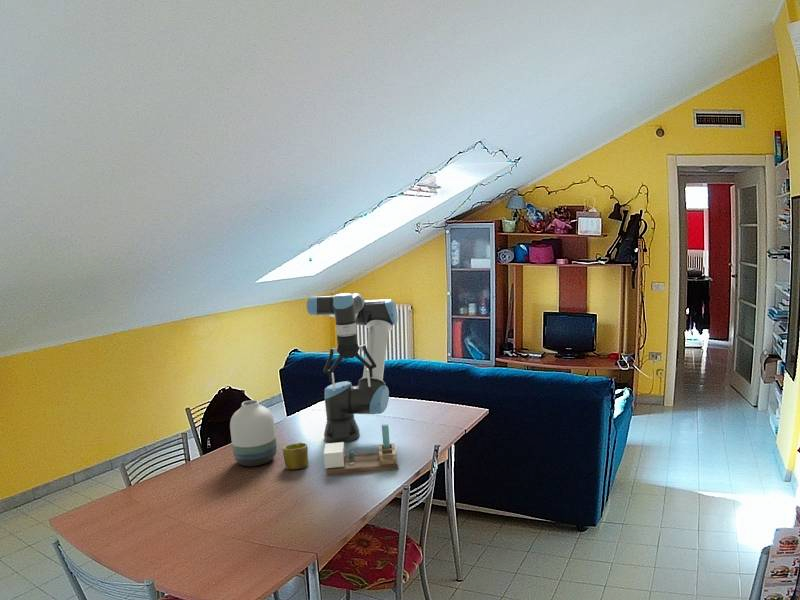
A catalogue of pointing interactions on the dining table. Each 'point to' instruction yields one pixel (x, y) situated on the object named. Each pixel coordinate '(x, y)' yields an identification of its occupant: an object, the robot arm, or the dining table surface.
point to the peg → (385, 436)
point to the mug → (295, 456)
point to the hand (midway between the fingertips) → (351, 387)
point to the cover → (334, 455)
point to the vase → (253, 434)
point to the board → (367, 462)
